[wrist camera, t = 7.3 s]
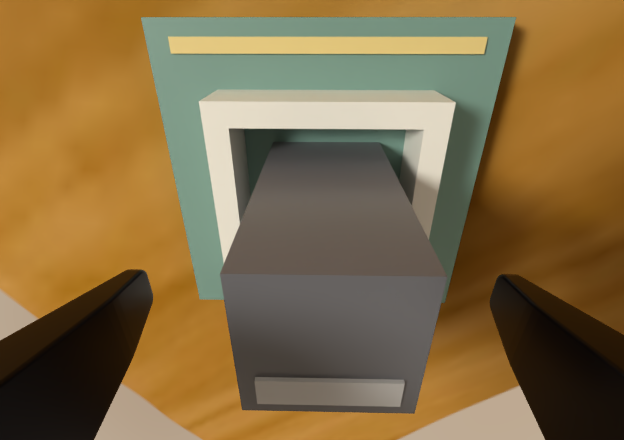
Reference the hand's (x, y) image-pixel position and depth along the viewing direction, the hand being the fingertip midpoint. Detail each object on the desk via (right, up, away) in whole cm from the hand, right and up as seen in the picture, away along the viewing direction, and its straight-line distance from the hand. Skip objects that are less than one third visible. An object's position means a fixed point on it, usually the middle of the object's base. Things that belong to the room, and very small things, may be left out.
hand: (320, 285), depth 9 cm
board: (0, +3, +6) cm, 7 cm away
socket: (0, +3, +6) cm, 7 cm away
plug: (0, +3, +5) cm, 6 cm away
